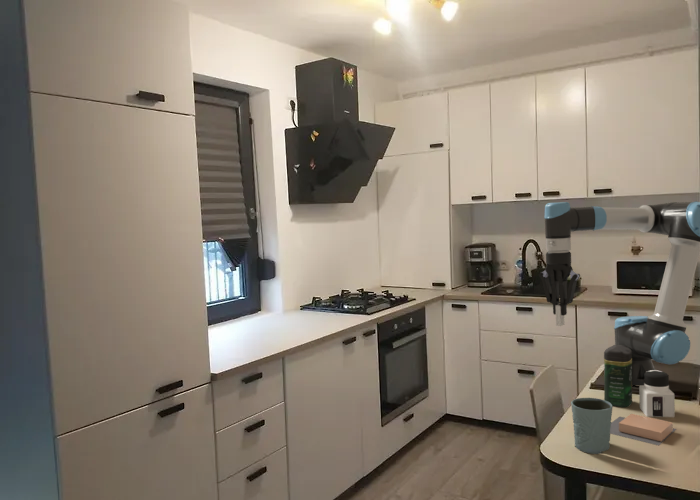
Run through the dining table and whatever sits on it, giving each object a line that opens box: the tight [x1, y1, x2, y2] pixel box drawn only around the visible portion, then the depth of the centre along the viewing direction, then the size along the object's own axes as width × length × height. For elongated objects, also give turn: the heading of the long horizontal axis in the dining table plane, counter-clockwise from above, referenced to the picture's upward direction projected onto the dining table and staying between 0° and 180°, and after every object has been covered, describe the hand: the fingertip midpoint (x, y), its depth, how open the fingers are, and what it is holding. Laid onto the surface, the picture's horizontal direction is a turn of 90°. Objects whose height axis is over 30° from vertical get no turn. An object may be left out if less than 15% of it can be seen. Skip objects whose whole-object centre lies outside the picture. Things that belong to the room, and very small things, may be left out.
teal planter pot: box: [570, 397, 613, 455], centre depth 155 cm, size 10×10×12 cm
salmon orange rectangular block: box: [619, 413, 674, 441], centre depth 162 cm, size 9×3×11 cm
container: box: [638, 369, 676, 418], centre depth 175 cm, size 8×8×13 cm
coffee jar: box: [603, 344, 633, 408], centre depth 185 cm, size 10×8×19 cm
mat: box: [610, 416, 677, 446], centre depth 163 cm, size 14×16×1 cm
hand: (560, 324), depth 184 cm, fingers closed
